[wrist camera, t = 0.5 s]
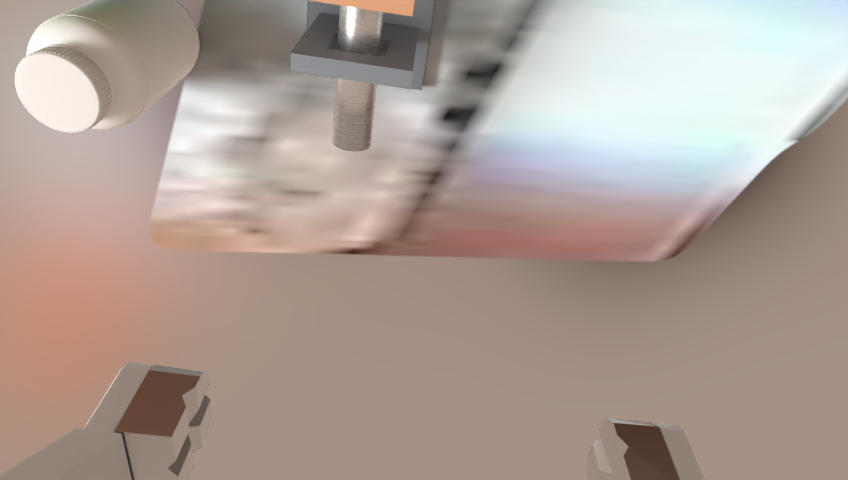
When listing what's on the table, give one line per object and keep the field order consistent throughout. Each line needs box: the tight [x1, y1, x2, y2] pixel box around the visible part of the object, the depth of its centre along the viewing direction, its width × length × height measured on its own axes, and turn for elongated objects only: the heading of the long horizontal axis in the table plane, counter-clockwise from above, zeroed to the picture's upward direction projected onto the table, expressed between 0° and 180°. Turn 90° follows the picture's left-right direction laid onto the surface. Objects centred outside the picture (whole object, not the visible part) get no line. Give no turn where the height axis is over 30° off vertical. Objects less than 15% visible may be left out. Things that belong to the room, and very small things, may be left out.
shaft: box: [332, 5, 384, 151], centre depth 40 cm, size 18×3×3 cm, turn 172°
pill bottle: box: [15, 0, 200, 133], centre depth 43 cm, size 8×8×15 cm
